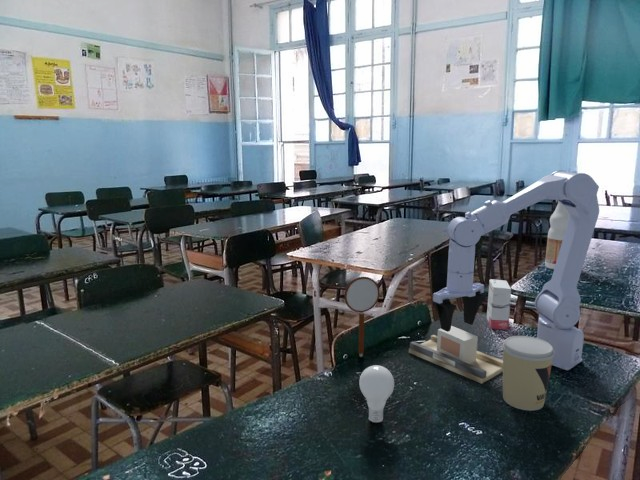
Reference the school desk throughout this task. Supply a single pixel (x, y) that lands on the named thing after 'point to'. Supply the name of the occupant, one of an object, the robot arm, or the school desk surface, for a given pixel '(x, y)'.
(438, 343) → the carton
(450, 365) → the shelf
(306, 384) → the school desk surface
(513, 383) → the cream lidded canister
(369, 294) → the magnifying glass
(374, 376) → the lightbulb
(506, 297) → the ink box
